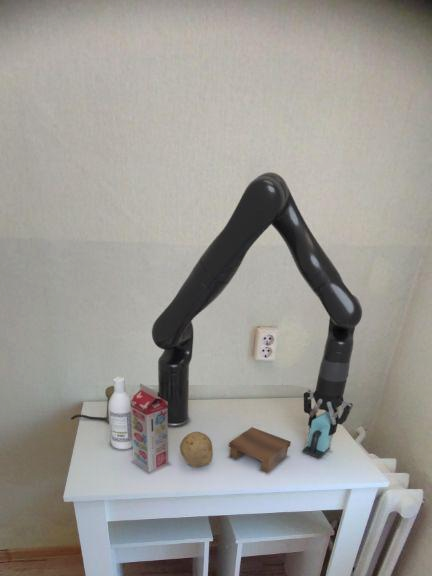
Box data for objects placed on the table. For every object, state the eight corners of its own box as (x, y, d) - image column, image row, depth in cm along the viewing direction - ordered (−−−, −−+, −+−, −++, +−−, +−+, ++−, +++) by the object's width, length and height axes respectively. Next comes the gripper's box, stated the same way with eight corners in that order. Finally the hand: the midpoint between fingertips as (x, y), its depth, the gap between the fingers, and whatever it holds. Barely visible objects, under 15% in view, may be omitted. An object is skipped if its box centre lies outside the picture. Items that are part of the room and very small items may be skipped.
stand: (250, 441, 139) (252, 426, 136) (288, 456, 133) (290, 441, 130) (227, 457, 131) (229, 442, 128) (267, 474, 125) (269, 458, 122)
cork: (121, 425, 143) (119, 392, 137) (103, 423, 144) (100, 390, 138) (128, 417, 148) (126, 385, 142) (110, 414, 149) (108, 382, 142)
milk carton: (152, 453, 130) (150, 380, 118) (168, 463, 127) (167, 388, 114) (133, 462, 127) (129, 386, 114) (148, 472, 123) (146, 395, 110)
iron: (320, 406, 132) (308, 415, 127) (338, 412, 130) (327, 421, 125) (312, 442, 139) (301, 452, 134) (329, 449, 136) (319, 459, 132)
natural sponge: (181, 455, 131) (181, 423, 125) (212, 457, 131) (214, 425, 125) (178, 472, 123) (178, 440, 118) (211, 475, 123) (213, 442, 118)
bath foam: (137, 448, 133) (134, 382, 121) (113, 451, 130) (108, 385, 119) (132, 436, 138) (129, 372, 126) (109, 439, 136) (103, 375, 124)
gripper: (302, 371, 123) (292, 427, 133) (353, 386, 117) (339, 444, 126) (314, 364, 128) (304, 418, 138) (363, 378, 122) (349, 434, 131)
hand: (321, 430), depth 132 cm, fingers closed on iron, 5 cm apart
